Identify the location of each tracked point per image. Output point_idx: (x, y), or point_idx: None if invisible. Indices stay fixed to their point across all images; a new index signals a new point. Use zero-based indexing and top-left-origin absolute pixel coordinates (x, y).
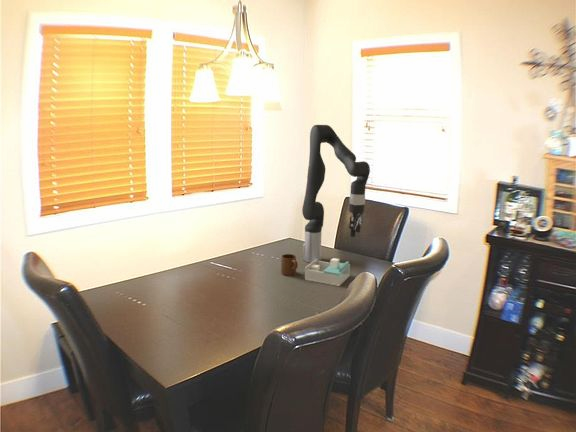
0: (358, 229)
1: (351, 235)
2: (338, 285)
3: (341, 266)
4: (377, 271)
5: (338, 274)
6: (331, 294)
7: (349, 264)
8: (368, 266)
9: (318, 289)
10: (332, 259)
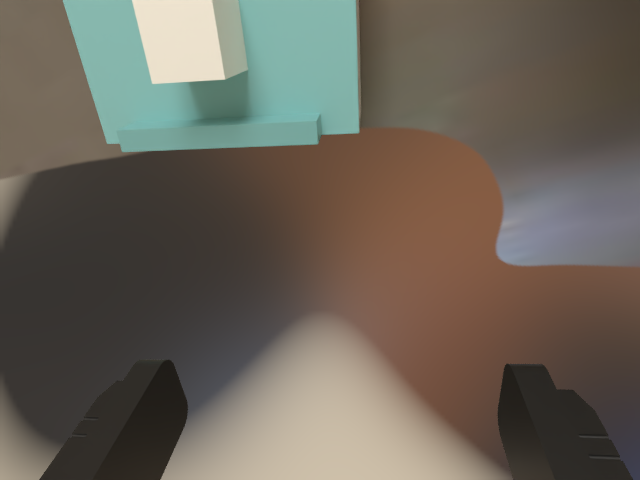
0: (520, 465)
1: (113, 393)
2: None
3: (164, 133)
4: (535, 247)
5: (107, 131)
6: (23, 129)
7: (351, 131)
8: (631, 165)
9: (13, 16)
10: (161, 10)
